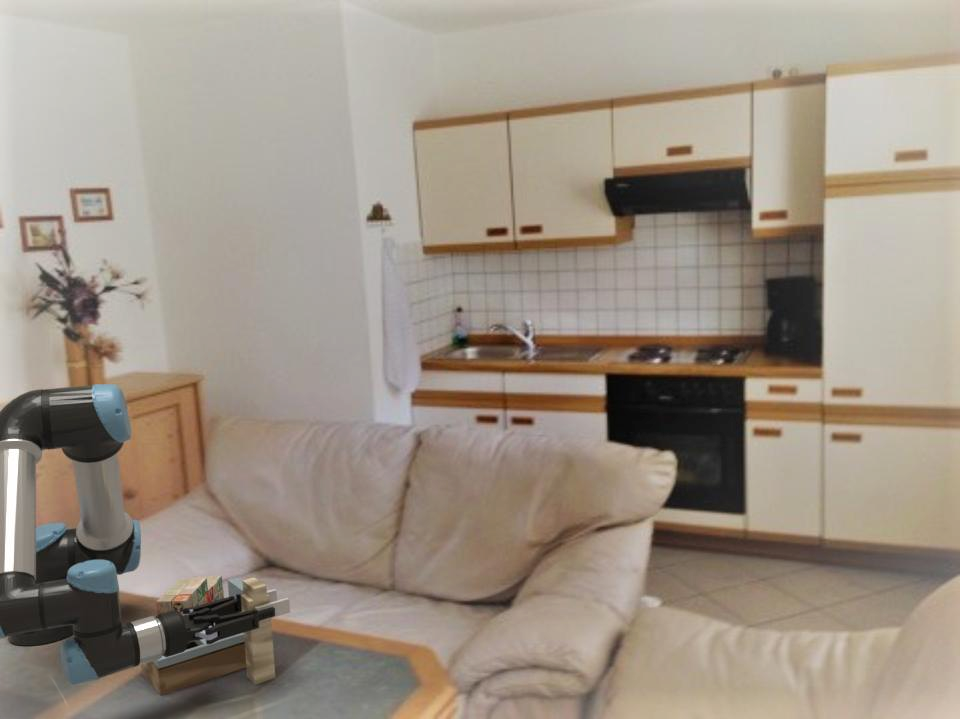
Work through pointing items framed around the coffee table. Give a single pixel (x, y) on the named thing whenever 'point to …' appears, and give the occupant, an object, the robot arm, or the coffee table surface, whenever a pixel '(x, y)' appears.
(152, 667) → the wooden box
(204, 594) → the stack of blocks
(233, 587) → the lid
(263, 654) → the key
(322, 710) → the coffee table surface
